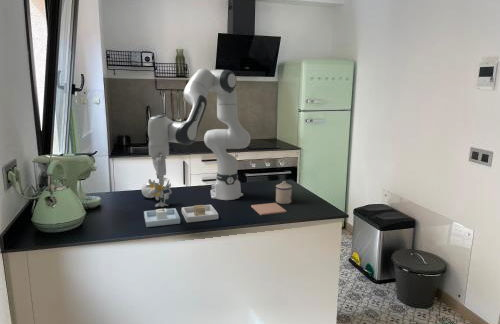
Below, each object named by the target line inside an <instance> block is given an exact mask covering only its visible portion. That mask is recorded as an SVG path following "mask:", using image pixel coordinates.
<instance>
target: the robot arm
mask: <svg viewBox="0 0 500 324" xmlns="http://www.w3.org/2000/svg"><path fill="white" fill-rule="evenodd" d="M236 86H237V76H236V74H235V73H234V71H232V70H229V69H211V70H209V69H207V68H199V69H197V70H196V72H194V74H193V75H192V76H191V78H190V79H189V81H188V82H187V84H186V85H185V87H184V89H183V97H184V99H185V101H186V103H188V104H189V105H190V106H192V108H191V111H190V112H189V115H188V118H187V119H186V120H185V121H183V122H179V121H174V120H172V119H170V118H169V117H167V116H166V115H165V114H156V115H152V116H151V117H149V119H148V121H147V122H148V124H147V135H148V140H149V141H148V156H150V157H151V160H152V165H153V168H154V170H155V174H157V175H156V179H157V180H158V183H159V184H163V179H164V178H165V176H167V164H166V159H167V157H168V156H169V155H170V149H169V148H170V147H169V145H170V144H169V143H176V144H180V145H184V146H189V145H192V144H193V143H194V142H195V141H196V139H197V136H198V133H199V127H200V124H201V122H202V119H203V117H204V113H206V109H207V105H208V104H207V103H208V101H207V97H208V94H209V93H210V92H216V93H217V96H216V118H217V119H218V120H219V121H220V122H222V123H223V124H226V125H227V126H228V128H215V129H210V130H207V131H206V132H205V133H204V135H203V136H204V137H203V141H204V145H205V146H206V147H207V148H208V149H210V150H211V152H213V155H214V156H215V158H216V164H217V166H216V167H217V172H216V179H215V181H214V182H213V183H214V184H211V189H210V197H211V199H214V200H215V199H216V200H223V201H232V200H236V199H240V197H243V196H244V193H242V191H241V181H240V180H239V173H238V160H237V158H236V157H235V156H234V155H232V154H230V153H228V152H227V150H240V149H246V148H248V147H249V145H250V143H251V135H250V133H249V132H248V130H246V129H245V128H244V127H243V126H242V125H241V123H240V121H239V115H238V114H239V113H238V94H237V89H236Z"/></svg>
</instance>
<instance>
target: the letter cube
mask: <svg viewBox="0 0 500 324" xmlns="http://www.w3.org/2000/svg"><path fill="white" fill-rule="evenodd" d="M166 209H167V208H158V209H155V210H156V219H157V220H162V219H167V210H166Z"/></svg>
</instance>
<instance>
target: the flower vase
mask: <svg viewBox="0 0 500 324" xmlns="http://www.w3.org/2000/svg"><path fill="white" fill-rule="evenodd" d="M155 175H156V176H157V173H155ZM165 182H166V184H165ZM164 185H165V186H164ZM171 186H172V184H171V182H170V179H168V178H167V177H164V179H163V184H160V183H159V182H156V180H155V179H154V180H152V179H150V178H149V179H148V181H146V182H144V184H142V186H141V193H142V195H143V196H144V197H145V198H147V199H152V198H155V200H156V201H159V200H160V201H159V202H157V203H156V204H155V206H154V208H158V207H161V208H163V207H168V206H169V204H166V200H168V199H169V197H170V195H171V194H172V192H173V191H172V190H171ZM167 190H168V191H169V192H166V193H164V191H167ZM162 199H163V201H162Z"/></svg>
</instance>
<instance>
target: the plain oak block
mask: <svg viewBox="0 0 500 324" xmlns="http://www.w3.org/2000/svg"><path fill="white" fill-rule="evenodd" d="M193 206H194V215H195V216H199V215H205V207H204V206H203V204H197V205H193Z"/></svg>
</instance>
